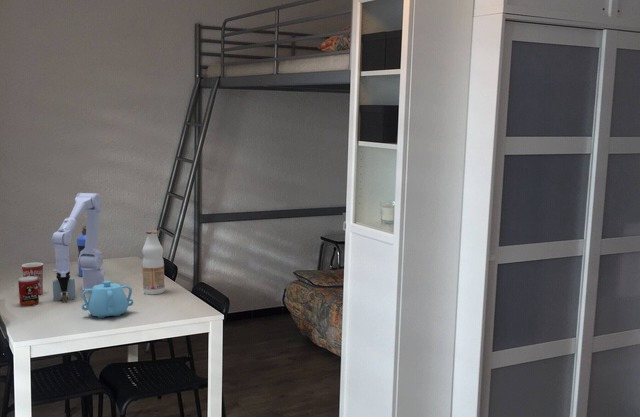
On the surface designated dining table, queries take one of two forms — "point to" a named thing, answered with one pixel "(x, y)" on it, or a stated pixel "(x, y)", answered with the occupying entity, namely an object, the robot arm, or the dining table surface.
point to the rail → (64, 297)
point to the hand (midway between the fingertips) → (64, 290)
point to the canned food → (28, 291)
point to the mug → (34, 273)
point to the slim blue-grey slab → (58, 292)
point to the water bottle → (81, 246)
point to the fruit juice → (153, 265)
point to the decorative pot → (107, 299)
